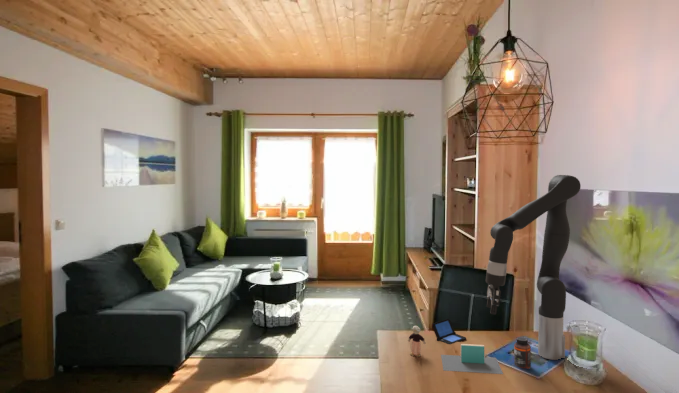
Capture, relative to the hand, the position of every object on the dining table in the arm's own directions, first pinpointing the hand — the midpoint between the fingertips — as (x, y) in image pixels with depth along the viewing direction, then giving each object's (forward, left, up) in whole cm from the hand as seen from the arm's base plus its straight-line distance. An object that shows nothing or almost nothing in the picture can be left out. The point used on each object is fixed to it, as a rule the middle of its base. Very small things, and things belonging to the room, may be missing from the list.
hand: (491, 310), depth 173 cm
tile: (+9, +8, -19) cm, 22 cm away
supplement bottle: (-10, +8, -20) cm, 24 cm away
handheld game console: (+16, -16, -20) cm, 30 cm away
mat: (+10, +10, -19) cm, 24 cm away
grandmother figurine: (+31, +3, -20) cm, 37 cm away
